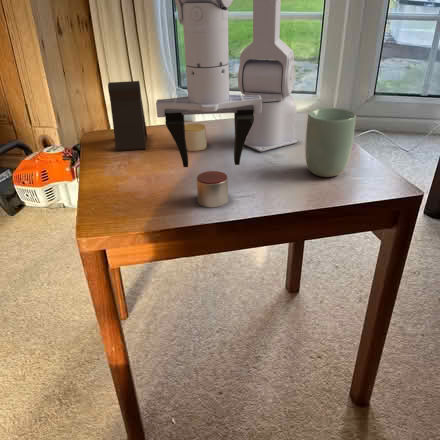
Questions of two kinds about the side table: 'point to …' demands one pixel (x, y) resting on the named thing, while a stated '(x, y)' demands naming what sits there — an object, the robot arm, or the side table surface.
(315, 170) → the cup
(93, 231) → the side table surface
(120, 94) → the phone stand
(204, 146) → the pale yellow short cylinder
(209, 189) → the cylinder
